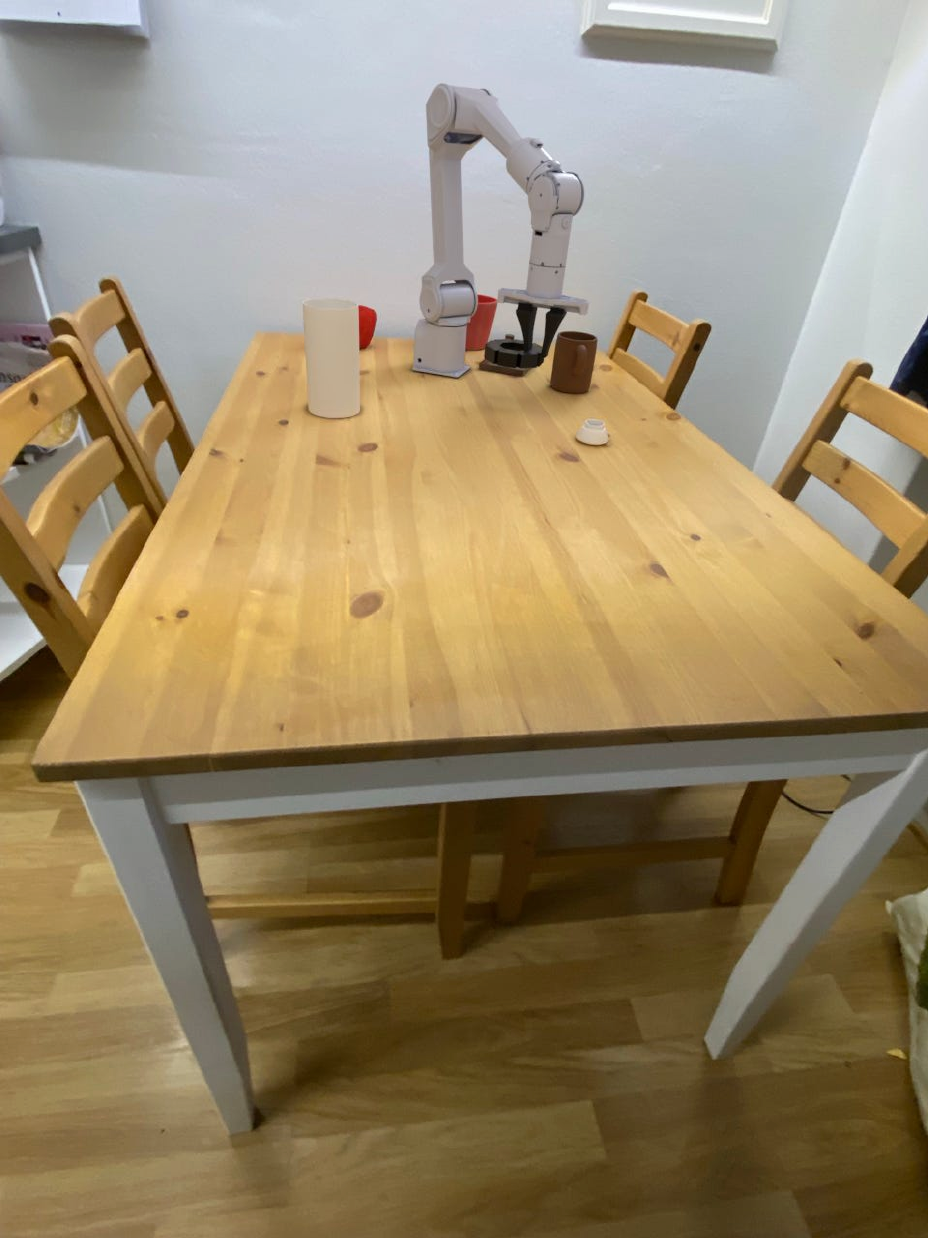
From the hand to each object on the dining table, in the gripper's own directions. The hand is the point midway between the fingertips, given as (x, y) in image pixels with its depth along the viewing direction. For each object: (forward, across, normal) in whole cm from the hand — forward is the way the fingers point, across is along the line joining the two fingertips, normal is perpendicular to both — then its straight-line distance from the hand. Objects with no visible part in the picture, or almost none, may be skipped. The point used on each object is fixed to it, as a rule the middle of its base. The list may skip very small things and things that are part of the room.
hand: (535, 354), depth 116 cm
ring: (+1, -4, 0) cm, 4 cm away
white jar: (+9, +13, -11) cm, 19 cm away
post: (+9, -10, +22) cm, 26 cm away
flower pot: (+9, -22, +34) cm, 42 cm away
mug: (+9, +5, +13) cm, 17 cm away
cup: (+9, -28, -18) cm, 35 cm away
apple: (+9, -42, +19) cm, 47 cm away
